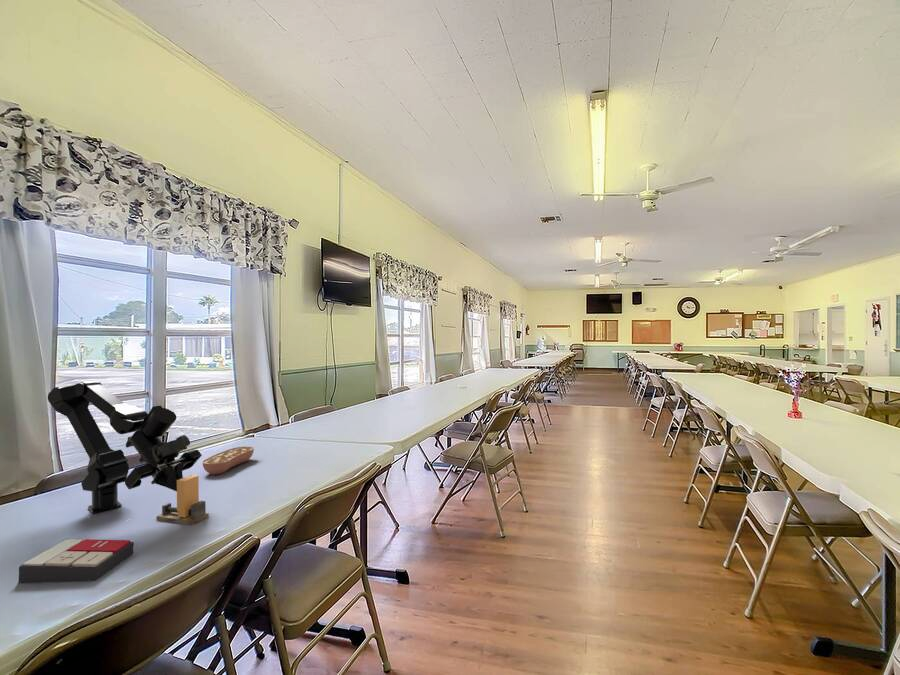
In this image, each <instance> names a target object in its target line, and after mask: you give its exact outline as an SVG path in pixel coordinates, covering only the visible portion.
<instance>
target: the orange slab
mask: <svg viewBox="0 0 900 675" xmlns="http://www.w3.org/2000/svg"><path fill="white" fill-rule="evenodd" d="M199 478H200V477H199V475H195V474H190V475H188V476H185V477H184V476H183V478H182V479H179V480H177V492H176V508H177V511H178V516H179V517H187V516H189V510H191V505H193V504H195V503H197V502H200V500H199V499H200V498H199V497H200V496H199V493H200V491H199V489H200V487H199V486H200V484H199V482H200V481H199Z"/></svg>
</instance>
